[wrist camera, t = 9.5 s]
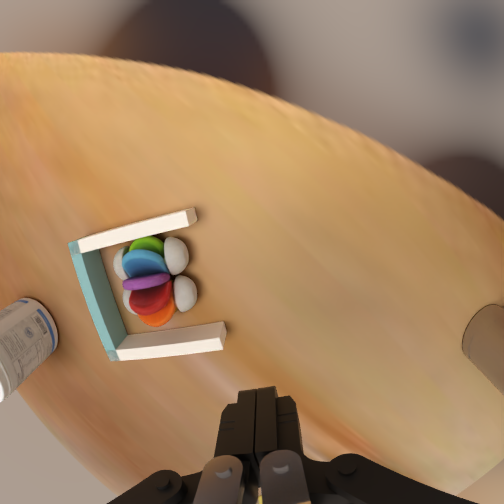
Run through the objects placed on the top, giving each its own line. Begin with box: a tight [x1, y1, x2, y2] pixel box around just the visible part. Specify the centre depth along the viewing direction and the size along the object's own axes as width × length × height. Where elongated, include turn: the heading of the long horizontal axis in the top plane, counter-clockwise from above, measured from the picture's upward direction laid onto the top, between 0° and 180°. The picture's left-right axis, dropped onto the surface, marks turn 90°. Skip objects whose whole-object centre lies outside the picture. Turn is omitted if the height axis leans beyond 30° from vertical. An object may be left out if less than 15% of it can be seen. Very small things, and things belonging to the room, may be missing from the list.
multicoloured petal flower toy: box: [113, 235, 197, 327], centre depth 31 cm, size 8×10×7 cm
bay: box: [68, 207, 227, 361], centre depth 33 cm, size 14×15×4 cm
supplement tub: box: [0, 298, 58, 402], centre depth 30 cm, size 10×10×15 cm
